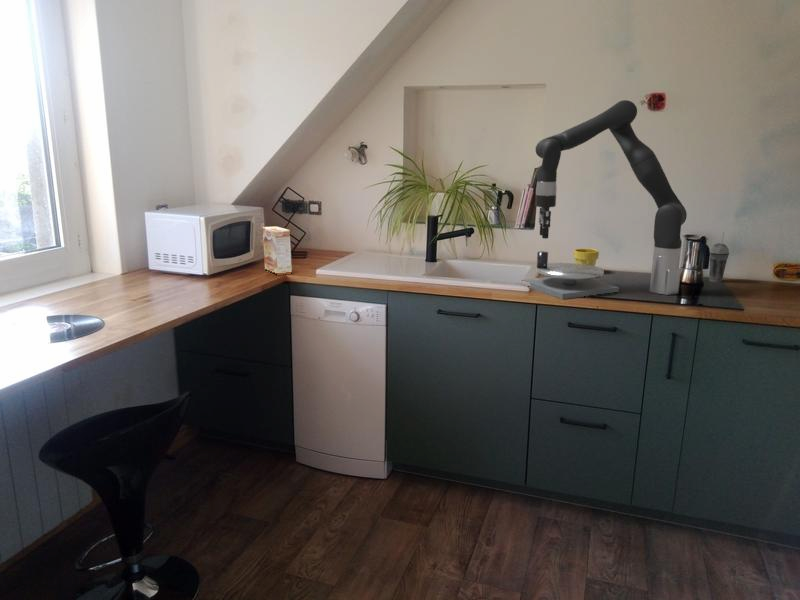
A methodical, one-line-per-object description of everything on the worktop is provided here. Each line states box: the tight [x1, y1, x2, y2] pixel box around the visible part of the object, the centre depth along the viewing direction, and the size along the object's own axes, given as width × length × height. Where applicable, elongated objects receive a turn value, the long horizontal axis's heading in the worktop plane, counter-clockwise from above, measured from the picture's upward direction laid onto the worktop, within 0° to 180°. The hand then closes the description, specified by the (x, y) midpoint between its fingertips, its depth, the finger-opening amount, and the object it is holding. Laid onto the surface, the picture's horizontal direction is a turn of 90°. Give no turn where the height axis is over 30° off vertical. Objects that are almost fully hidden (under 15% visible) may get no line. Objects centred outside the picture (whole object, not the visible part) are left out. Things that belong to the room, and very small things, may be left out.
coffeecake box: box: [262, 225, 293, 273], centre depth 264 cm, size 15×7×20 cm, turn 33°
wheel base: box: [520, 276, 620, 300], centre depth 234 cm, size 26×26×6 cm
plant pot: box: [573, 248, 600, 266], centre depth 264 cm, size 10×10×10 cm
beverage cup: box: [708, 231, 730, 283], centre depth 245 cm, size 7×7×20 cm
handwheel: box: [536, 250, 605, 280], centre depth 232 cm, size 25×25×8 cm
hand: (543, 236), depth 231 cm, fingers open, 8 cm apart
